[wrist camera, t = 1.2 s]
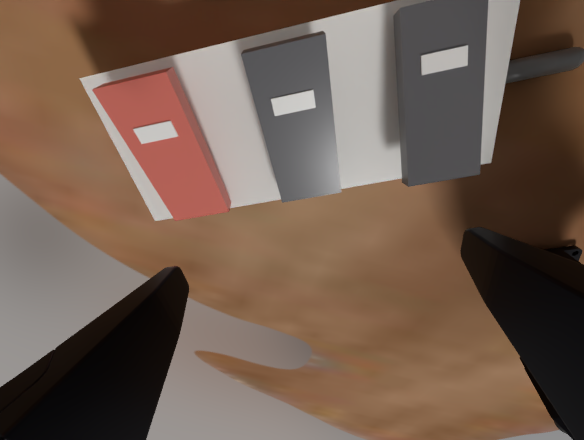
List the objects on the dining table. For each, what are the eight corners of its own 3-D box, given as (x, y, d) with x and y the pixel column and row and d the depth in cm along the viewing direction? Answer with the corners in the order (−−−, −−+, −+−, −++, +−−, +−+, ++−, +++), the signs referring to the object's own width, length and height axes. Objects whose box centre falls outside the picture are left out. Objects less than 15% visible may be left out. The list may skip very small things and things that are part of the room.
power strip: (552, 132, 18) (593, 145, 16) (172, 201, 22) (155, 221, 19) (601, -44, 14) (670, -67, 11) (112, 75, 17) (79, 78, 14)
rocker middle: (338, 183, 17) (341, 193, 16) (282, 193, 17) (282, 203, 17) (323, 30, 12) (325, 34, 11) (243, 49, 12) (240, 54, 11)
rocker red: (231, 202, 18) (228, 212, 17) (179, 211, 18) (174, 221, 17) (173, 66, 13) (165, 72, 12) (102, 83, 13) (91, 90, 12)
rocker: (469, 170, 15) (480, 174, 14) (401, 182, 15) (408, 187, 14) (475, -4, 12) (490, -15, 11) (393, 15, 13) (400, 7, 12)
